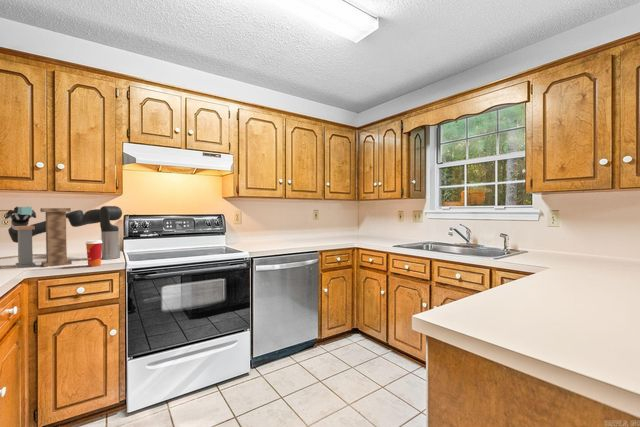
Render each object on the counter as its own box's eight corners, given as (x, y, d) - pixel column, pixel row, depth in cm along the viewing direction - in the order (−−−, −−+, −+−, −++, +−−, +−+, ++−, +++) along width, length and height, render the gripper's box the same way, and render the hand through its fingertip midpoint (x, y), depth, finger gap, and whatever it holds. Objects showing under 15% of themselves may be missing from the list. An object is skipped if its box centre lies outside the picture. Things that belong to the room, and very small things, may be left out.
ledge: (32, 263, 182) (31, 225, 182) (35, 266, 174) (34, 226, 174) (15, 265, 177) (14, 226, 176) (18, 267, 169) (17, 227, 168)
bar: (26, 213, 185) (26, 206, 185) (31, 214, 169) (31, 207, 169) (16, 213, 182) (16, 206, 182) (21, 214, 166) (21, 207, 166)
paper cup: (88, 265, 176) (87, 240, 176) (104, 264, 179) (104, 239, 178) (83, 267, 169) (83, 241, 168) (100, 266, 171) (100, 240, 171)
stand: (68, 262, 185) (67, 208, 184) (71, 264, 180) (70, 208, 179) (41, 265, 176) (40, 208, 175) (43, 267, 171) (42, 208, 170)
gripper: (2, 216, 186) (4, 202, 176) (35, 216, 196) (38, 202, 186) (3, 228, 183) (5, 213, 173) (36, 226, 194) (39, 213, 184)
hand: (22, 208), depth 180 cm, fingers closed on bar, 4 cm apart
